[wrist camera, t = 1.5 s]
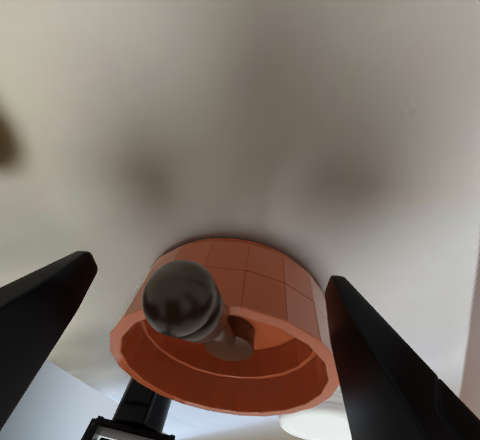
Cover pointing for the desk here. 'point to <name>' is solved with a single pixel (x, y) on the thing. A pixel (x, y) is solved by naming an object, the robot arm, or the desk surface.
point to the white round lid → (319, 421)
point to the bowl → (265, 341)
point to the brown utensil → (195, 311)
